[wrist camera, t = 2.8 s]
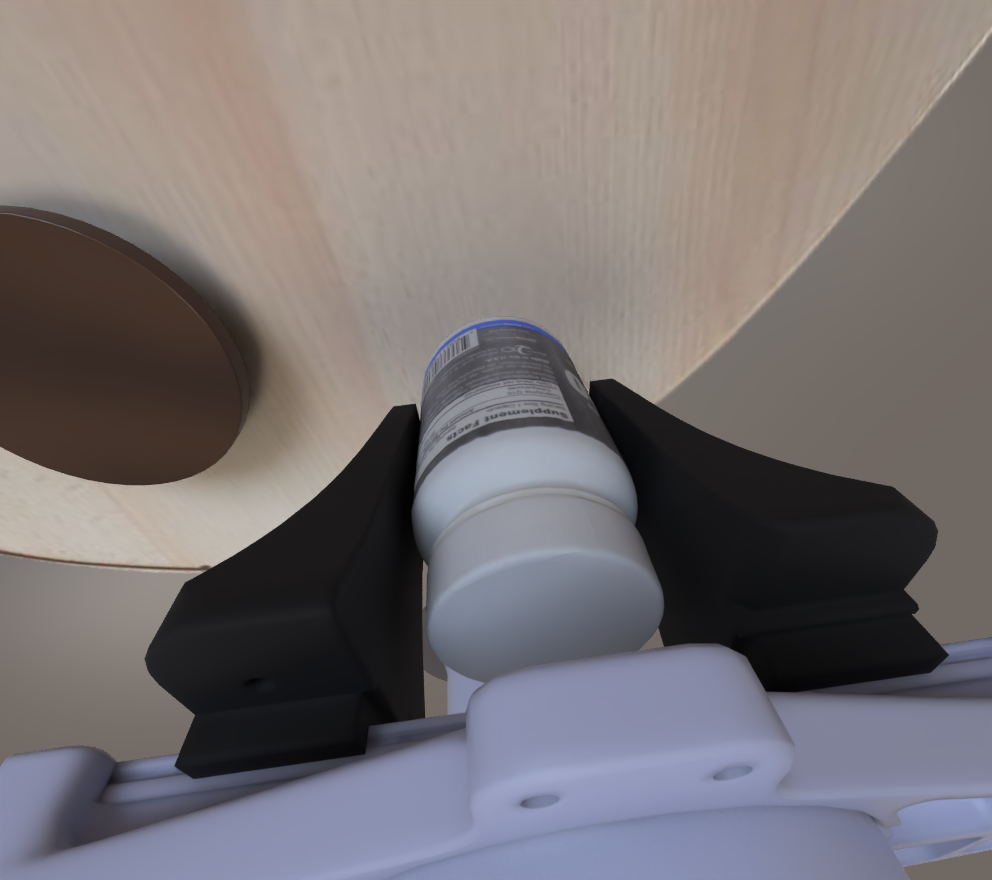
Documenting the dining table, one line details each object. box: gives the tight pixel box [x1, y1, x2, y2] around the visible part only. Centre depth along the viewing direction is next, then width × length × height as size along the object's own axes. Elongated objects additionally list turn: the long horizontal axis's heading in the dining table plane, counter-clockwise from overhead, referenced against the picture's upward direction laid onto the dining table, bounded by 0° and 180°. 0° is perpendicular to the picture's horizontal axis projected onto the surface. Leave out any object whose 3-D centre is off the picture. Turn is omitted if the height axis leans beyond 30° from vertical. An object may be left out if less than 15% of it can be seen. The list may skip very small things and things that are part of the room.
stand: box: [0, 206, 249, 485], centre depth 16 cm, size 10×10×2 cm
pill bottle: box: [411, 316, 664, 683], centre depth 11 cm, size 5×5×8 cm
